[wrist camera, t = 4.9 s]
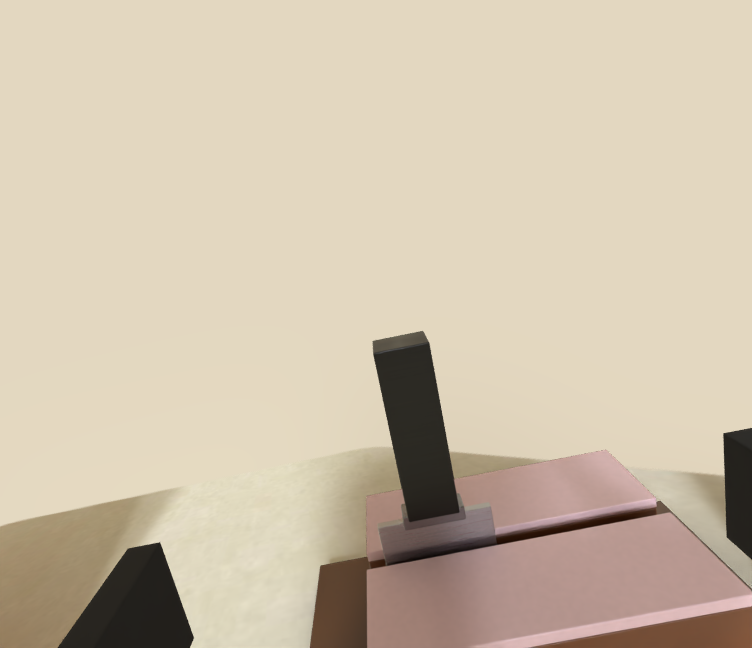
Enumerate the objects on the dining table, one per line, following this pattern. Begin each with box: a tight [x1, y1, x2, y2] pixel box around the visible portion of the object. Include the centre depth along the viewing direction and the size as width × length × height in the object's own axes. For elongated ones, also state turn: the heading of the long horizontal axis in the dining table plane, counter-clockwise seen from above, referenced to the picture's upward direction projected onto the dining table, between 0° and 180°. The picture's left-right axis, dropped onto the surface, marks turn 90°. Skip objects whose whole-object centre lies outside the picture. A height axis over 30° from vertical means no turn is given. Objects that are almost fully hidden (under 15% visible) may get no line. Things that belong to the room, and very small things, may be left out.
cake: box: [366, 450, 752, 648], centre depth 26 cm, size 16×12×7 cm
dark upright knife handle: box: [373, 331, 497, 566], centre depth 24 cm, size 6×2×19 cm, turn 92°
